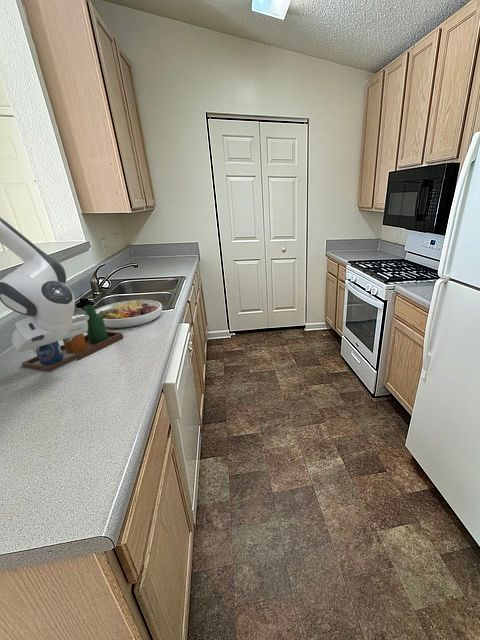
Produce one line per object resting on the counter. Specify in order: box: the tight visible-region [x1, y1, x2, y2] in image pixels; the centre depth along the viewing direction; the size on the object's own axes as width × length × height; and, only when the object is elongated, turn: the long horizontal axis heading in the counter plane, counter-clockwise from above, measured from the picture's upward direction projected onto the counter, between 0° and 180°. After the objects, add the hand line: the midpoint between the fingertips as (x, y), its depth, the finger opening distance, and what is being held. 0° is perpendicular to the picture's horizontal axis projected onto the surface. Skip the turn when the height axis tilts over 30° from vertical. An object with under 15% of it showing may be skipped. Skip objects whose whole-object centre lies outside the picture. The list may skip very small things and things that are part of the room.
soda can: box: [35, 341, 64, 366], centre depth 114 cm, size 7×7×12 cm
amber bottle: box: [62, 333, 88, 355], centre depth 122 cm, size 7×7×15 cm
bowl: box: [95, 299, 163, 329], centre depth 157 cm, size 30×30×8 cm
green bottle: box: [83, 304, 109, 344], centre depth 131 cm, size 7×7×15 cm
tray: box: [21, 330, 124, 372], centre depth 125 cm, size 32×13×2 cm, turn 162°
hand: (51, 344), depth 110 cm, fingers open, 8 cm apart
